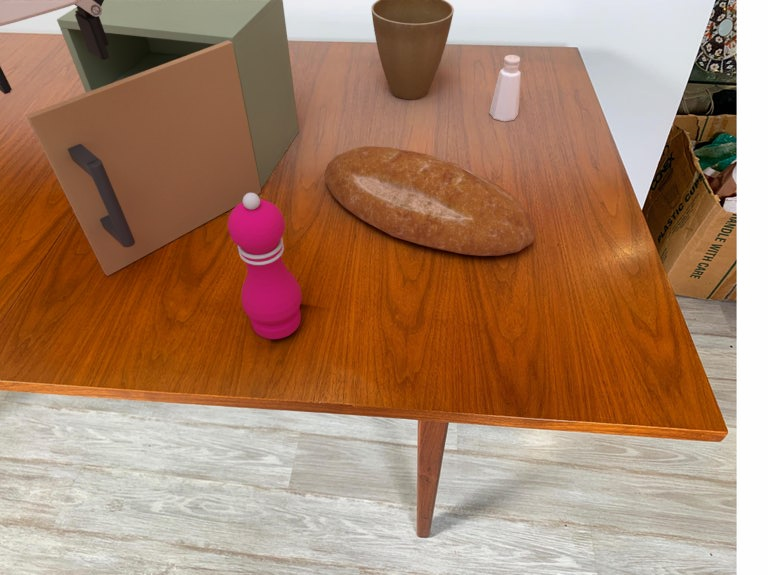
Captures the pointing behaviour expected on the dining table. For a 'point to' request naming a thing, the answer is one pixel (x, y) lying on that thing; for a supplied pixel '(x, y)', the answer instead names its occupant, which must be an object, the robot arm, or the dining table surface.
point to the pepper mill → (265, 268)
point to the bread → (429, 201)
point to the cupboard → (194, 33)
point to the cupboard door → (152, 153)
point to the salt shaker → (507, 91)
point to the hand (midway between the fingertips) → (53, 71)
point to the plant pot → (411, 42)
